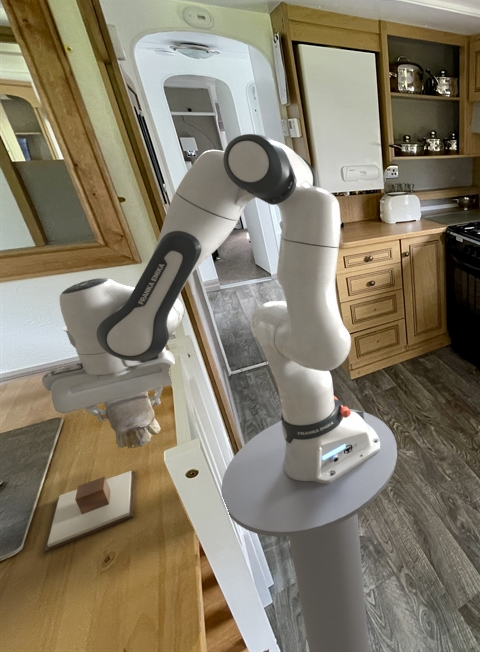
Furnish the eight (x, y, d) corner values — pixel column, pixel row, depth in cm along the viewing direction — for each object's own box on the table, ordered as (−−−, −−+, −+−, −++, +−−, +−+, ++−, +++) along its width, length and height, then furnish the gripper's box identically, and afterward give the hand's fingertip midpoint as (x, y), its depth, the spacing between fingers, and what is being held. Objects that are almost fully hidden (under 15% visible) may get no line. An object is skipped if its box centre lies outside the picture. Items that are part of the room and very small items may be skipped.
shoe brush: (167, 436, 78) (160, 417, 76) (120, 456, 73) (111, 435, 71) (145, 388, 93) (139, 371, 91) (105, 402, 88) (98, 384, 86)
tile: (134, 472, 85) (133, 468, 84) (133, 517, 75) (131, 512, 74) (59, 499, 78) (56, 494, 77) (45, 552, 67) (43, 547, 67)
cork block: (110, 491, 79) (104, 476, 77) (109, 504, 76) (103, 489, 74) (84, 500, 76) (77, 485, 75) (81, 514, 73) (75, 499, 72)
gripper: (34, 380, 69) (62, 439, 74) (172, 348, 81) (188, 401, 86) (41, 365, 73) (67, 422, 78) (171, 337, 85) (186, 388, 90)
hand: (131, 411), depth 82 cm, fingers closed on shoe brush, 7 cm apart
